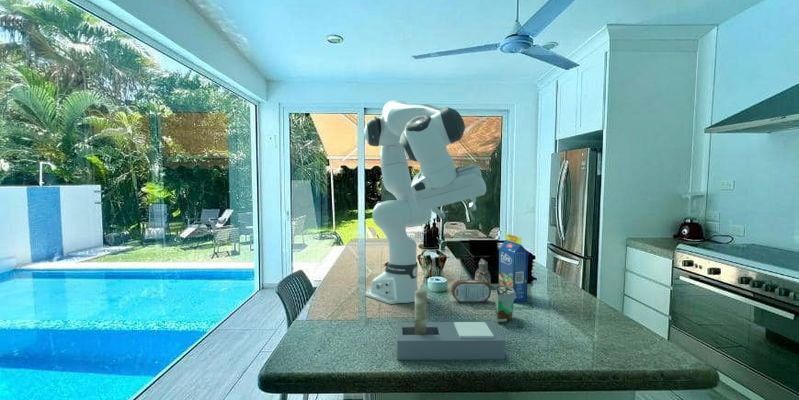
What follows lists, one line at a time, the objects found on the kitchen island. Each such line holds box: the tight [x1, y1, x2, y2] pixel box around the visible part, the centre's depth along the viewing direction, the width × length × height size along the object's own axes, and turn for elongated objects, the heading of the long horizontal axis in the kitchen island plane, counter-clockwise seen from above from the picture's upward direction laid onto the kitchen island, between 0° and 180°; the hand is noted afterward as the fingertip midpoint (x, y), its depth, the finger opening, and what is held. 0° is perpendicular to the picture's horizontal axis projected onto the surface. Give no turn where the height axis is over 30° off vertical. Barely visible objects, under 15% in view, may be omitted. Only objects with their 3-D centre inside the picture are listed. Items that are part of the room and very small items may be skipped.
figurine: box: [474, 258, 492, 288], centre depth 154 cm, size 7×7×12 cm
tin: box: [450, 279, 492, 303], centre depth 134 cm, size 15×3×8 cm, turn 92°
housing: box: [396, 321, 506, 361], centre depth 96 cm, size 28×12×6 cm, turn 91°
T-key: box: [414, 289, 428, 335], centre depth 96 cm, size 8×3×16 cm, turn 91°
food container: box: [495, 284, 516, 325], centre depth 117 cm, size 12×6×10 cm, turn 168°
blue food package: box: [498, 232, 529, 303], centre depth 139 cm, size 6×12×25 cm, turn 10°
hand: (458, 213), depth 101 cm, fingers open, 8 cm apart
